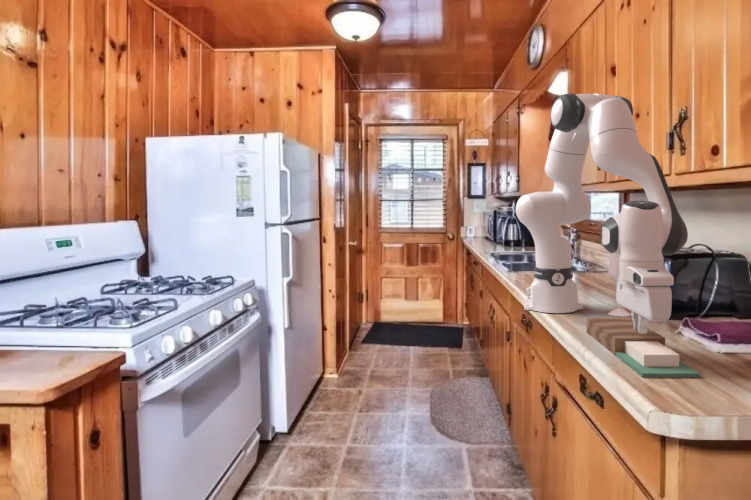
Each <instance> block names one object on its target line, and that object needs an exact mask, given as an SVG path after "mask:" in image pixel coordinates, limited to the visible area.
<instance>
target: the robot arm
mask: <svg viewBox="0 0 751 500" xmlns="http://www.w3.org/2000/svg"><path fill="white" fill-rule="evenodd" d="M550 122H551V125H552V127H553V128H554V131H553V134H552V136H551V140H550V142H549V148H548V152H547V156H546V160H545V164H544V173H545V174H546V176H547V178H549V179H550V180H551V181H552V182H553V189H552V191H551V190H550V191H534V192H531V193H530V192H529V193H527V194H524V195H521V196H520V197H519V198H518V200H517V202H516V206H515V214H516V217H517V219H518V221H519V222H520V223H521V224H523V226H525V227H526V228H527V230H528V231H529V232H530V234H531V236H532V239H533V243H534V252H535V266H534V270H533V273H534V274H533V277H534V279H533V280H532V283H531V284H530V286H528V287H526V288H525V295H528V296H527V297H526V298H524V301H523V302H524V303H523V304H524V305H523V309H524V310H527V311H534V312H540V313H549V314H568V313H573V312H576V311H580V310H584V306H583V304H580V303H579V291H578V284H577V282H576V281H574V280H573V278H574V268H573V266H572V244H571V242H570V241H569V239H567V238H565V237H564V236H562V235H561V233H560V230H559V228H558V225H573V224H576V223H579V222H583V221H584V220H586V219H587V218H588V217H589V215H590V213H591V208H592V204H591V201H590V198H589V196H587V194H586V193H585V192H584V190H583V185H582V174H583V170H584V166H585V165H584V164H585V161H586V157H587V153H588V149H590V154H591V157H592V160H593V162H594V164H595V165H596V166H597V167H598V168H599V169H600V170H602V171H603V172H605V173H608V174H611V175H614V176H617V177H618V176H619V177H622V178H625V179H628V180H630V181H633V182H635V183H636V184H638V185H640V186H641V187H642V188H643V190H644V193H645V196H646V197H647V200H633V201H632V200H631V201H628V202H624V203H623V204H622V205H621V211H620V212H619V213H617V214H616V215H614V216H610V217H608V218H607V219H606V220H605V221H604V222H603V224H601V227H600V243H601V246H602V247H603V248H604V249H605V250H606V251H608V253H609V254H610V253H614V254H621V255H620V259H619V277H618V280H617V282H616V290H615V293H616V294H615V300H616V304H617V305H618V304H619V305H621V306H622V308H625V309H626V310H629V311H630V314H631V319H632V320H633V323H634V330H635V331H637V332H639V333H640V334H646V333H647V328H648V326H649V324H650V322H652V323H653V322H654V323H660V322H661V323H662V322H663V323H665V322H668V321H669V320H670V318H671V316H672V302H673V301H672V300H673V294H672V288H671V286H674V283H675V278H674V275H673V274H672V273H671V272H669V270H668V269H667V268H666V266H665V265H664V262H665V261H664V259H665V258H664V256H673V255H675V254H677V253H678V252H679V251H680V250H681V249H683V248H684V246H685V245H686V243H687V242H688V237H689V235H688V229H687V225H686V223H685V221H684V219H683V217H682V216H681V214H680V213H679V211H678V208H677V206H676V203H675V201H674V199H673V196H672V193H671V190H670V188H669V185H668V182H667V180H666V178H665V175H664V172H663V170H662V166H661V165H660V163H659V161H658V159H657V158H656V156H654V155H653V154H651V153H649V152H648V151H647V150H646V148H644V146H643V145H642V143H641V142H640V139H639V138H638V132H637V128H636V123H635V120H634V107H633V103H632V102H631V100H630V99H629V98H626V97H624V96H620V95H609V94H603V93H576V94H575V93H574V92H573V93H572V92H571V93H564V94H561V95H559V96H558V97H557V98H556V99H555V100H554V102H553V104H552V107H551V109H550ZM589 147H590V148H589Z"/></svg>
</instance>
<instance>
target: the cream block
mask: <svg viewBox="0 0 751 500" xmlns="http://www.w3.org/2000/svg"><path fill="white" fill-rule="evenodd" d="M625 353H627V354H628V355H629V356H631V357H632V358H633V359H635V360H636V361H637V362H639V363H640V364H641V365H643V366H679V361H680V354H679V353H677V352H676V351H674V350H673V349H671V348H669V347H667V346H666V345H665V346H664V345H662V344H661V343H659V342H657V341H625Z"/></svg>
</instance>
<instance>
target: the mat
mask: <svg viewBox="0 0 751 500" xmlns="http://www.w3.org/2000/svg"><path fill="white" fill-rule="evenodd" d="M615 356H616V357H617V359H619V360H620V359H621V360H620V361H622V362H623V363H624V362H625V363H626V364H627V366H628V367H629V368H630V367H631V368H632V370H633V371H634V372H635V371H636V372H637V373H636V372H635V373H636V374H637V375H639V376H640V377H641V378H701V373H700V372H699V371H697V370H695V369H694V368H693V367H691V366H689V365H688V364H686V363H684V362H683V361H681V360H679V366H643V365H641V364H640V363H639V362H637V361H636V360H635V359H633V358H632V357H631V356H629V355H628V354H627V353H625V352H616V355H615ZM625 363H624V364H625ZM626 364H625V365H626ZM631 368H630V369H631Z"/></svg>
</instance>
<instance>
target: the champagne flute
mask: <svg viewBox="0 0 751 500" xmlns="http://www.w3.org/2000/svg"><path fill="white" fill-rule="evenodd" d="M620 255H621V254H614V253H610V252H609V259H608V261H609V262H608V271H607V274H608V276H609V277H610V279H612V280H613V281H614V282H615V283H617V280H618V277H619V259H620ZM607 314H608V315H610V316H614V317H630V316H631V312H629V311H627V310H625V309H624V308H623V306H621V305H619V304H617V307H616V308H615V309H612V310H611V311H609V312H607ZM631 317H632V316H631Z"/></svg>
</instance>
